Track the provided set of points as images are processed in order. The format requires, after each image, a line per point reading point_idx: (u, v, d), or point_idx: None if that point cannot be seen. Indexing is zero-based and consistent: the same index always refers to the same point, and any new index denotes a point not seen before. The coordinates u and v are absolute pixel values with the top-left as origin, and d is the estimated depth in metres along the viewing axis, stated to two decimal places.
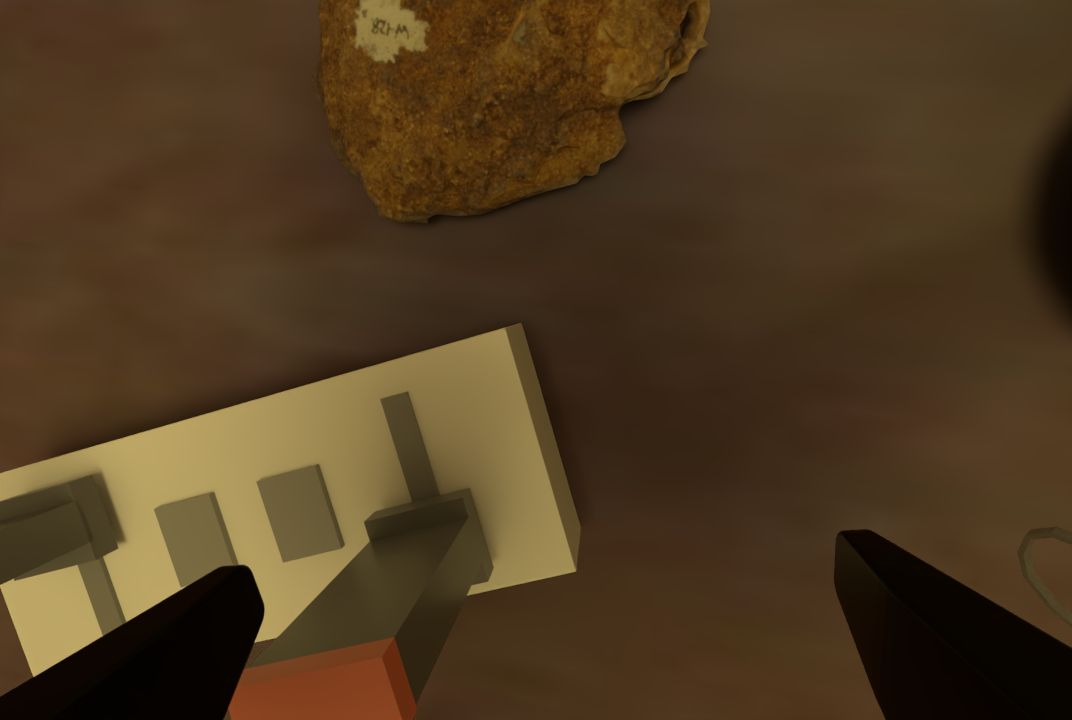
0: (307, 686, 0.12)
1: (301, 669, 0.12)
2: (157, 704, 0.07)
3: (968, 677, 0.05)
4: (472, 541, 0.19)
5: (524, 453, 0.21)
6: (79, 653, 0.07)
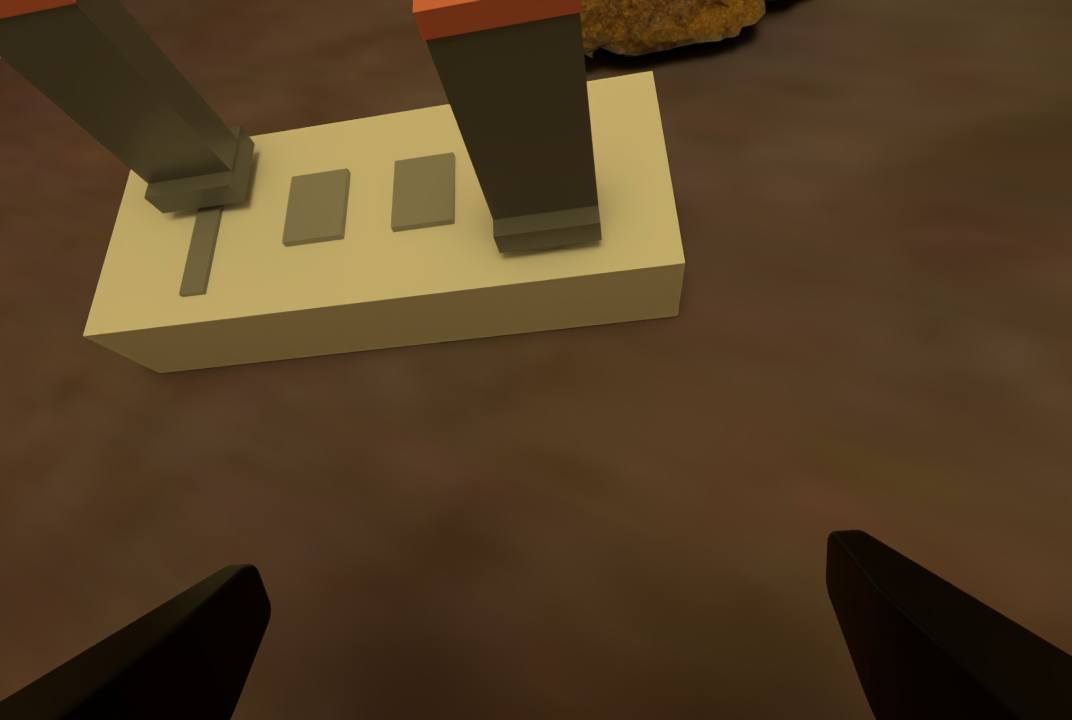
0: None
1: None
2: (165, 704, 0.07)
3: (955, 677, 0.05)
4: None
5: (651, 159, 0.22)
6: (87, 653, 0.07)
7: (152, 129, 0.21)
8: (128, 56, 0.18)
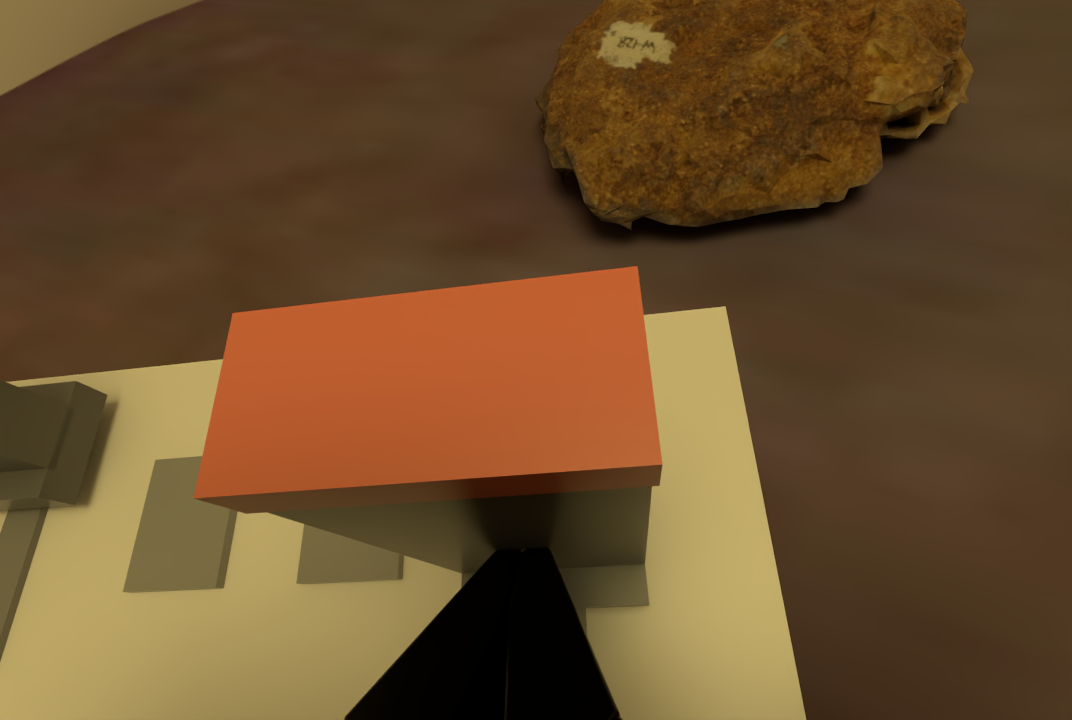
0: (432, 318, 0.05)
1: (424, 300, 0.05)
2: (497, 696, 0.07)
3: None
4: None
5: (732, 482, 0.13)
6: (423, 641, 0.07)
7: None
8: None
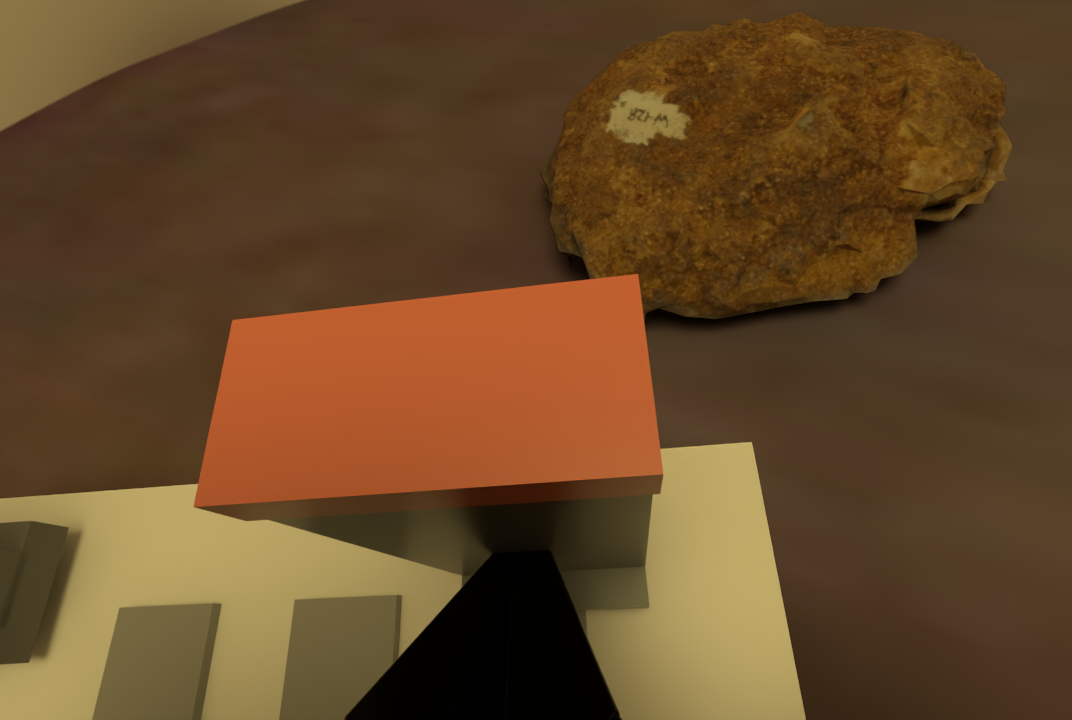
0: (432, 325, 0.05)
1: (425, 308, 0.05)
2: (497, 696, 0.07)
3: None
4: None
5: (763, 661, 0.11)
6: (423, 641, 0.07)
7: None
8: None
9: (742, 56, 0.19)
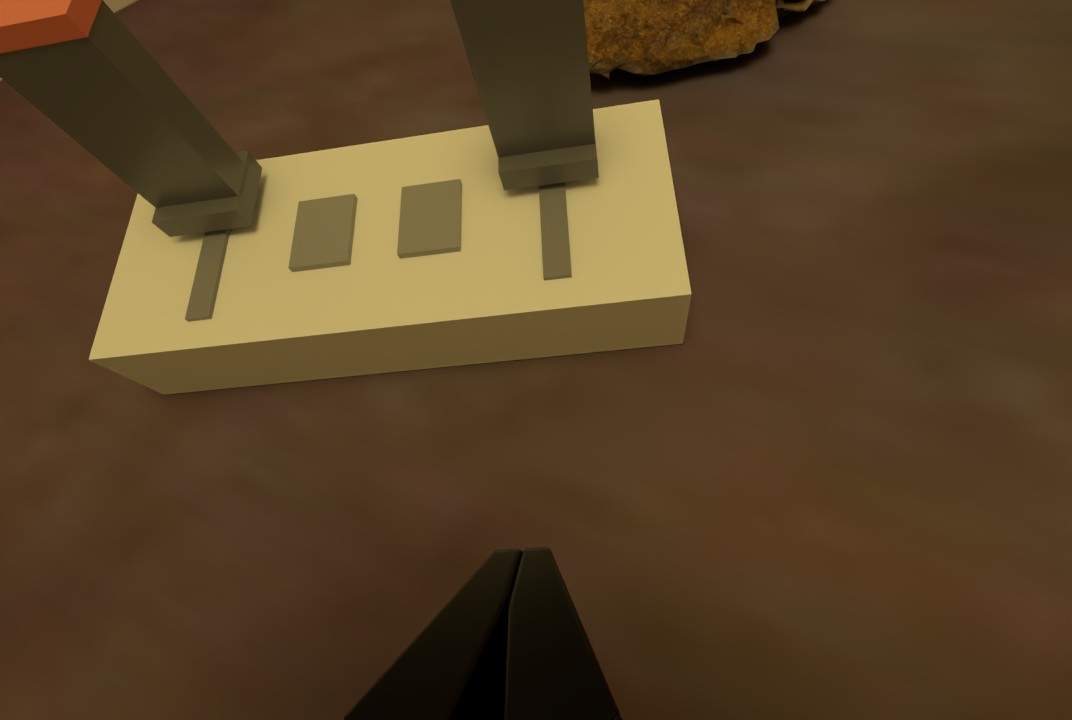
0: None
1: None
2: (497, 697, 0.07)
3: None
4: None
5: (657, 188, 0.22)
6: (423, 641, 0.07)
7: (160, 156, 0.21)
8: (139, 87, 0.18)
9: None
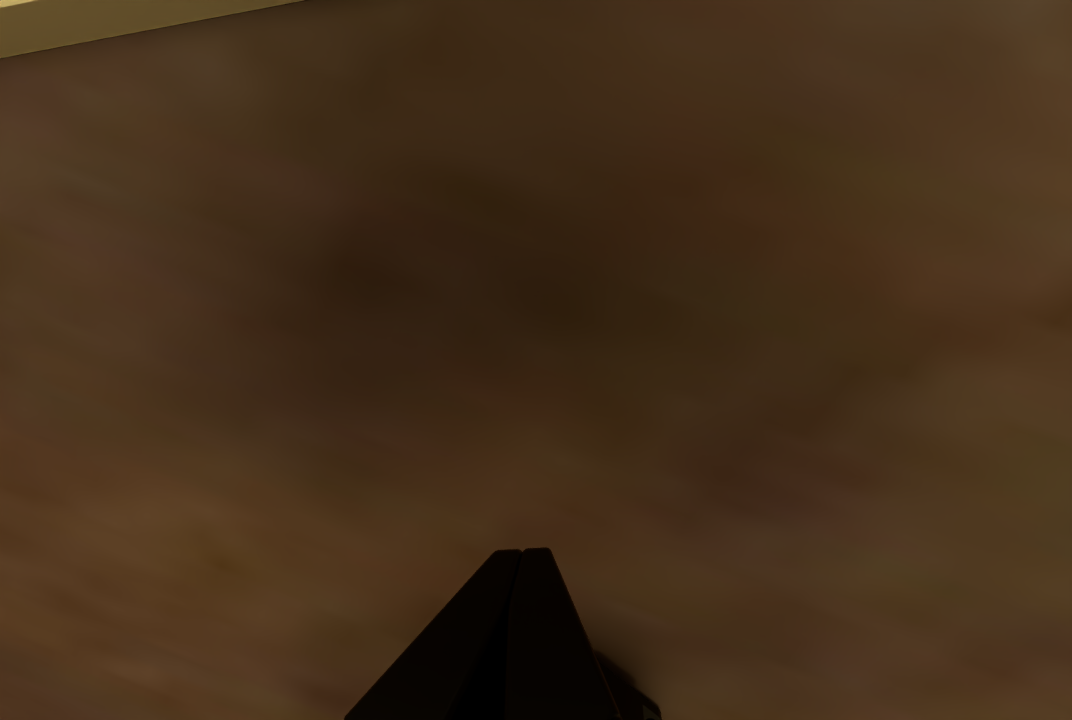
0: None
1: None
2: (497, 696, 0.07)
3: None
4: None
5: None
6: (423, 641, 0.07)
7: None
8: None
9: None
